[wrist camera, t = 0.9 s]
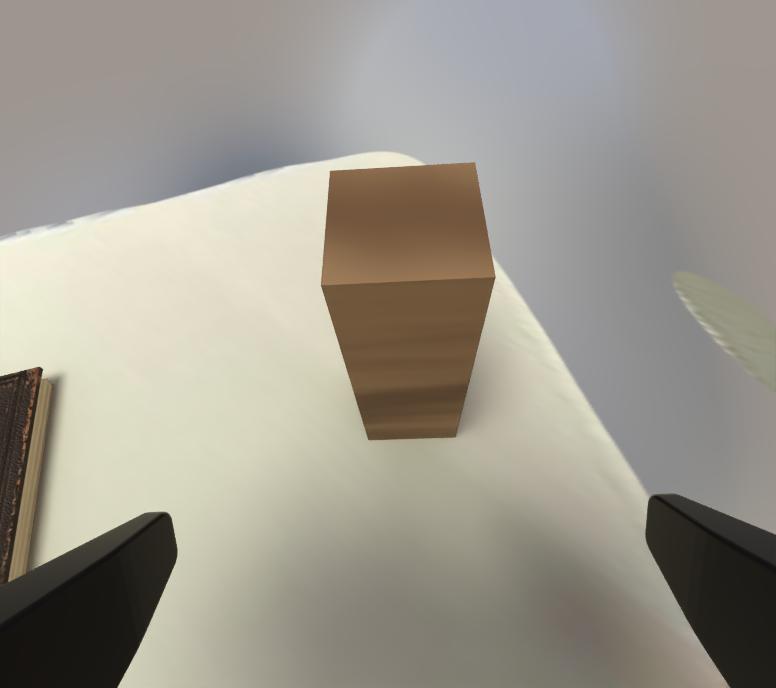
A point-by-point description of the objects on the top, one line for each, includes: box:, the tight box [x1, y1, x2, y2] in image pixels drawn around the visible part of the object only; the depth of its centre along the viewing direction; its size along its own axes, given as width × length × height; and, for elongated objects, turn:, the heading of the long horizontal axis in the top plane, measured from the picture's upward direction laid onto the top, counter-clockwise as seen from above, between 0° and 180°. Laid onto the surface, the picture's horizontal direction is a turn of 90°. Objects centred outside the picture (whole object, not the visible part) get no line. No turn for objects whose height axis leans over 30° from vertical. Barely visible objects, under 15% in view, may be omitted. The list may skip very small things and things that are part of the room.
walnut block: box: [321, 163, 495, 440], centre depth 18 cm, size 4×4×13 cm
